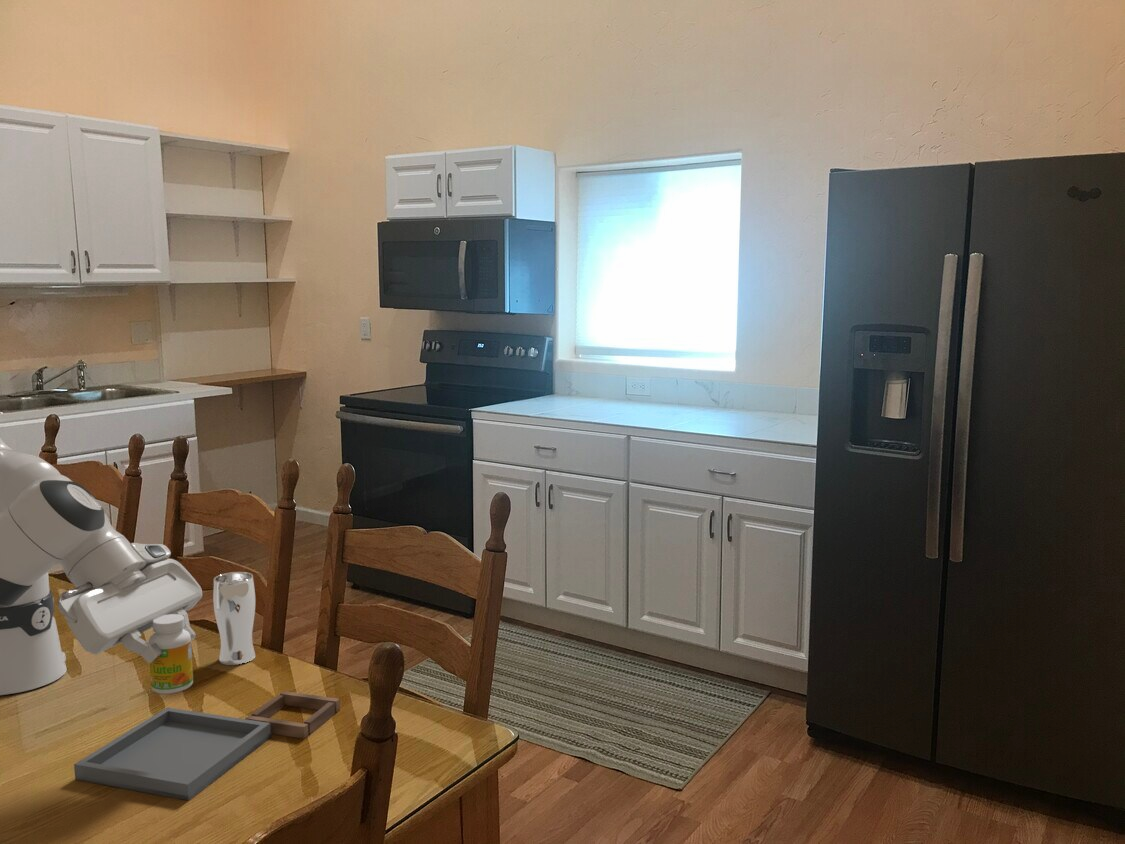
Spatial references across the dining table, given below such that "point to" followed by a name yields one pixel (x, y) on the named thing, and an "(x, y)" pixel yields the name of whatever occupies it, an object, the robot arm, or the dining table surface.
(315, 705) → the frame
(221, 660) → the beer glass
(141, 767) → the grey tray
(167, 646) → the supplement bottle
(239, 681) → the dining table surface
